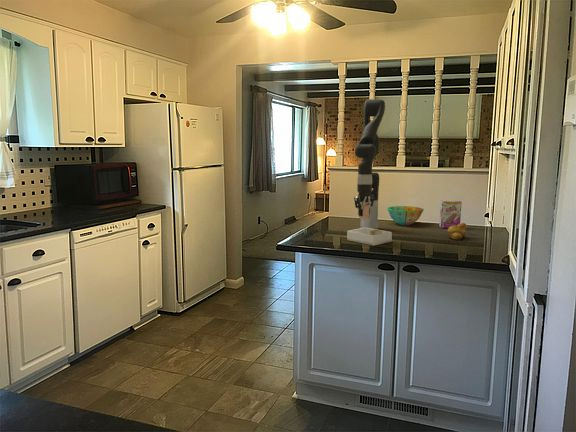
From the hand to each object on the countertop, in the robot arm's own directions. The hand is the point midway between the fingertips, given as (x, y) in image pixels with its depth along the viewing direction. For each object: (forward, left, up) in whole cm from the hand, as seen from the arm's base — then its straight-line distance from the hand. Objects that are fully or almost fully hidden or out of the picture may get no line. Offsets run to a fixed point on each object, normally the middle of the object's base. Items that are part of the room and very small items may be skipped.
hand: (364, 215), depth 241 cm
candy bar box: (+12, +65, -13) cm, 67 cm away
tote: (+4, 0, -13) cm, 14 cm away
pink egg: (0, 0, -1) cm, 1 cm away
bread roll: (+30, +40, -13) cm, 52 cm away
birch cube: (+8, 0, -12) cm, 14 cm away
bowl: (-13, +55, -13) cm, 58 cm away
